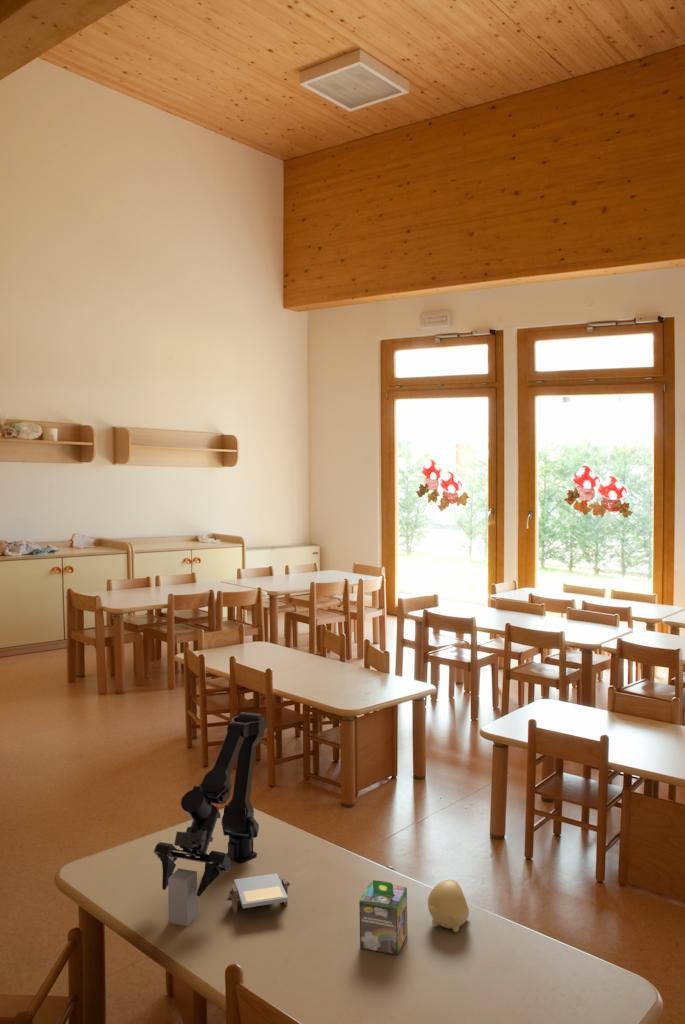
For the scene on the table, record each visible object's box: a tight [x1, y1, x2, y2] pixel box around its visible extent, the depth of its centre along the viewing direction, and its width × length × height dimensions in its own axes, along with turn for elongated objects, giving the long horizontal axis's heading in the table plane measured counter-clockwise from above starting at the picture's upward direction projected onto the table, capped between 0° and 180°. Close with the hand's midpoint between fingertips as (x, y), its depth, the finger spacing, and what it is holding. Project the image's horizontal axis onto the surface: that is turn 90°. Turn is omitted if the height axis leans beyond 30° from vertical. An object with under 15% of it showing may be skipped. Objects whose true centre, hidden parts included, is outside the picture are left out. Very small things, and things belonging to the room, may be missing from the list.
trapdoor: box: [233, 872, 289, 909], centre depth 206 cm, size 12×11×4 cm
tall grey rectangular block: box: [167, 867, 198, 927], centre depth 201 cm, size 5×5×11 cm
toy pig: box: [427, 879, 470, 933], centre depth 199 cm, size 10×12×11 cm
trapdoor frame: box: [228, 877, 291, 914], centre depth 210 cm, size 8×15×6 cm, turn 107°
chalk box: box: [358, 879, 408, 956], centre depth 192 cm, size 9×9×15 cm
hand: (180, 892), depth 200 cm, fingers open, 9 cm apart
